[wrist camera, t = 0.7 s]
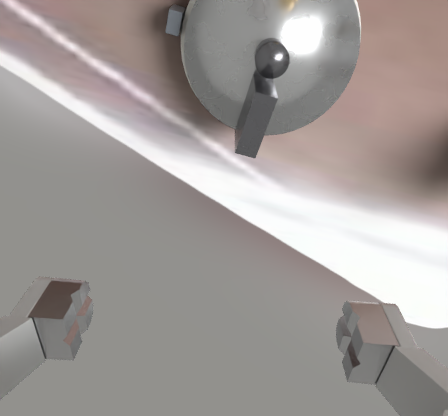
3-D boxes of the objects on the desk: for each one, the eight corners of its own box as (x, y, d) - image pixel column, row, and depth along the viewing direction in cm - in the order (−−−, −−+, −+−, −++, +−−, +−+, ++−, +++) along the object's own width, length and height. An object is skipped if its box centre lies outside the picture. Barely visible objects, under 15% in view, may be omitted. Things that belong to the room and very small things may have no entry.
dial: (208, -82, 28) (202, -86, 23) (390, -17, 31) (421, -7, 25) (171, 106, 38) (161, 133, 33) (312, 145, 40) (323, 176, 35)
